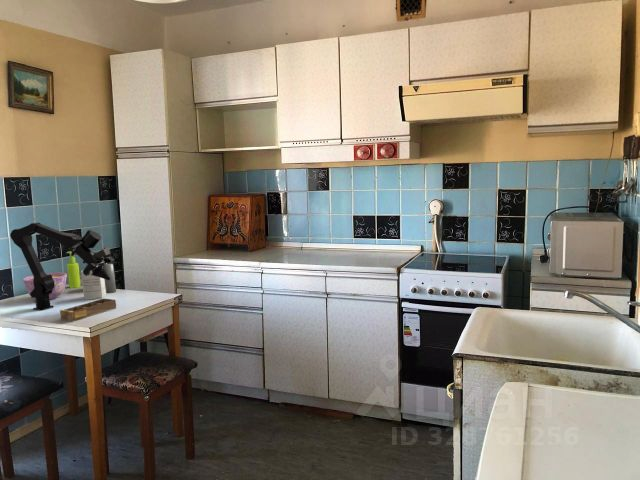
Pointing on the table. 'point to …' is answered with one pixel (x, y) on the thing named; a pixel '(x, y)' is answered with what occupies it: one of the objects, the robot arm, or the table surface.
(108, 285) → the plug
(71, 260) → the soap dispenser
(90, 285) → the supplement box
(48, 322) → the table surface
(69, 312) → the rack
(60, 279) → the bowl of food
